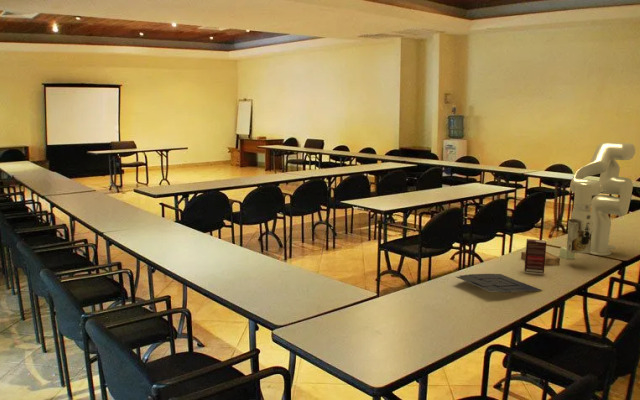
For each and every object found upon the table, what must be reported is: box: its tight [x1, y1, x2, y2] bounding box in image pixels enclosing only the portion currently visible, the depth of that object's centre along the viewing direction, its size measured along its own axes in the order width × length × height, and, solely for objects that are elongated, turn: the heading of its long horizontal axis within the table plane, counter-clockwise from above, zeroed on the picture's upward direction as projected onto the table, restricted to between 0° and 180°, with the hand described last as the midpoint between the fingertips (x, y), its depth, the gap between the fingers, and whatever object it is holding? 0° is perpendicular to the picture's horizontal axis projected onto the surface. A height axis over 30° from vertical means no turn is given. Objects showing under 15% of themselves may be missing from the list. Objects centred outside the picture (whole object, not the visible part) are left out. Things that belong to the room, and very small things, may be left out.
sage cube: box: [559, 246, 576, 260], centre depth 268 cm, size 5×5×5 cm
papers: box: [456, 273, 542, 293], centre depth 223 cm, size 24×30×4 cm
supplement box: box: [523, 238, 547, 276], centre depth 242 cm, size 9×5×16 cm, turn 71°
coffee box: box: [566, 218, 591, 254], centre depth 252 cm, size 9×6×16 cm
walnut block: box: [520, 251, 561, 267], centre depth 261 cm, size 13×13×4 cm
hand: (578, 241), depth 252 cm, fingers closed on coffee box, 7 cm apart
